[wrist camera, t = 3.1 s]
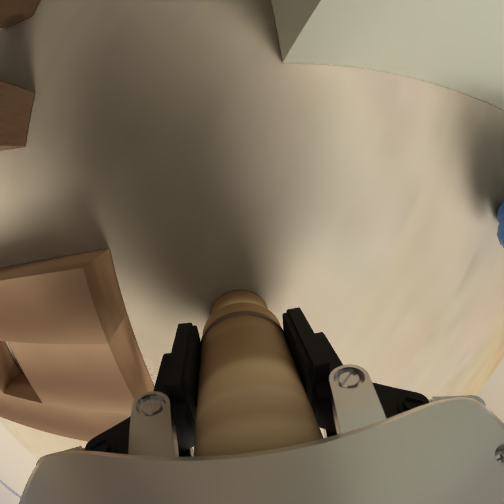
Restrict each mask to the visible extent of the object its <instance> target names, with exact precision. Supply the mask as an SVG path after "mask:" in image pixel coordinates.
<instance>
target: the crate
mask: <svg viewBox="0 0 504 504" xmlns="http://www.w3.org/2000/svg"><path fill="white" fill-rule="evenodd" d="M271 3H272V8H273V13H274V18H275V23H276V28H277V33H278V39H279V45H280V50H281V56H282V62H283V63H310V64H326V65H338V66H347V67H355V68H362V69H369V70H375V71H381V72H386V73H392V74H396V75H401V76H406V77H410V78H414V79H418V80H422V81H426V82H429V83H433V84H436V85H440V86H443V87H446V88H449V89H452V90H455V91H458V92H461V93H464V94H466V95H469V96H472V97H474V98H477V99H479V100H482V101H484V102H487V103H489V104H491V105H493V106H496V107H498V108H500V109H502V110H504V0H271Z"/></svg>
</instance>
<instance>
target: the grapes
mask: <svg viewBox="0 0 504 504" xmlns="http://www.w3.org/2000/svg"><path fill="white" fill-rule="evenodd" d="M497 219H498V222H499V225H498V231H497V236H498V239H499V242H500V244H501V245H502V246H503V248H504V201H503V202H502V204H501V205H500V207H499V209H498V213H497Z"/></svg>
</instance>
